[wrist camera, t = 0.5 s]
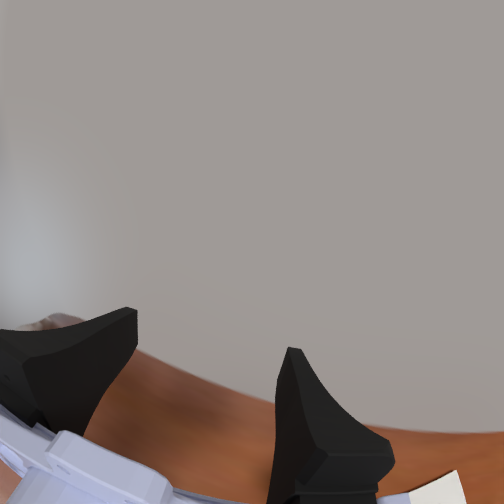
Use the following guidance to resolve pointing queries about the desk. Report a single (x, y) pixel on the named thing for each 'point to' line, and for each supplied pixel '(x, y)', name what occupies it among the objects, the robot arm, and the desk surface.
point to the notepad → (440, 491)
